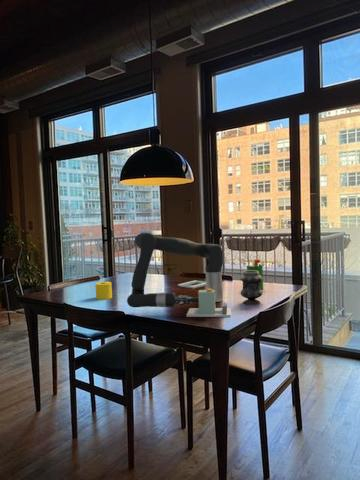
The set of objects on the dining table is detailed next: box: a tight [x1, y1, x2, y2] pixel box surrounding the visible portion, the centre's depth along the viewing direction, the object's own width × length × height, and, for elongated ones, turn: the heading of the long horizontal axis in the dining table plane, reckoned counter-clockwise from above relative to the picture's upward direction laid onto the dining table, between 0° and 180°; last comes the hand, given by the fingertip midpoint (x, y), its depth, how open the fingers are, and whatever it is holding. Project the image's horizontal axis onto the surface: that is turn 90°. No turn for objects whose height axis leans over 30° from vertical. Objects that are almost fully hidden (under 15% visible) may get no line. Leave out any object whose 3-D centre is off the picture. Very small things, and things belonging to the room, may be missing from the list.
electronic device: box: [177, 280, 206, 289], centre depth 268 cm, size 18×2×15 cm
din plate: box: [186, 302, 232, 318], centre depth 193 cm, size 22×12×5 cm, turn 81°
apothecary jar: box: [239, 269, 263, 306], centre depth 210 cm, size 12×12×18 cm
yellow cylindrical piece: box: [95, 281, 113, 301], centre depth 239 cm, size 10×10×9 cm
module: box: [198, 289, 217, 314], centre depth 191 cm, size 8×6×12 cm
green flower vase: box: [246, 258, 264, 291], centre depth 246 cm, size 10×9×20 cm
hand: (199, 299), depth 192 cm, fingers closed
